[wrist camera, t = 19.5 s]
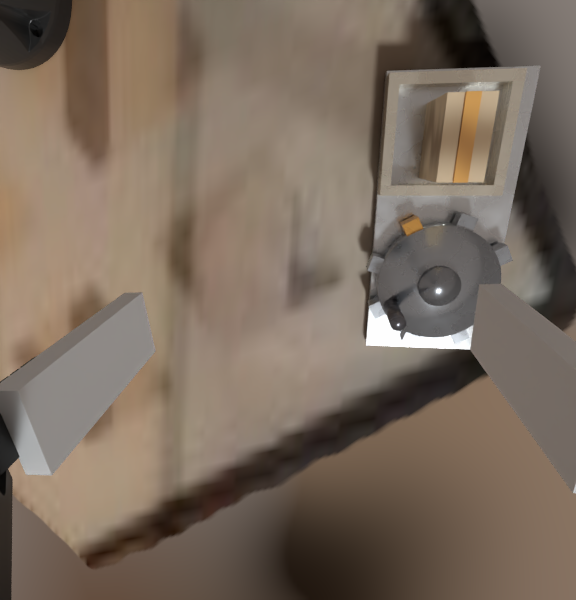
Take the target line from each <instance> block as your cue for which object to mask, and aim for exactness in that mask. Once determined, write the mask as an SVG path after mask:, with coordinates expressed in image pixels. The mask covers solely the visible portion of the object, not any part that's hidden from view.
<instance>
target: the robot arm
mask: <svg viewBox="0 0 576 600" xmlns="http://www.w3.org/2000/svg"><path fill="white" fill-rule="evenodd" d="M71 9H72V0H0V67H3V68H7V69H13V70H24V69H30V68H34V67H36V66H39V65H41V64H43V63H44V62H46V61H47V60H48V59H50V58H51V57H52V56H53V55H54V54H55V52H56V51H57V50H58V49H59V47H60V46H61V44H62V42H63V40H64V38H65V36H66V33H67V30H68V27H69V23H70V17H71ZM470 350H471V351H472V353H473V354H474V356H475V357H476V358H477V360H478V361H479V363H480V364H481V365H482V367H483V368H484V370H485V371H486V372H487V374H488V375H489V377H490V378H491V379H492V381H493V382H494V384H495V385H496V386H497V388H498V389H499V391H500V392H501V393H502V395H503V396H504V398H505V399H506V400H507V402H508V403H509V405H510V406H511V407H512V409H513V410H514V412H515V413H516V414H517V416H518V417H519V418H520V420H521V421H522V423H523V424H524V425H525V427H526V428H527V429H528V431H529V432H530V434H531V435H532V437H533V438H534V439H535V441H536V442H537V444H538V445H539V446H540V448H541V449H542V450H543V452H544V453H545V455H546V456H547V458H548V459H549V460H550V462H551V463H552V465H553V466H554V467H555V469H556V470H557V472H558V473H559V474H560V476H561V477H562V479H563V480H564V481H565V483H566V484H567V486H568V487H569V488H570V490H571V491H572V493H576V341H574V340H573V339H572V338H571V337H569V336H568V335H567V334H565V333H564V332H563V331H561V330H560V329H559V328H558V327H556V326H555V325H554V324H552V323H551V322H550V321H549V320H547V319H546V318H545V317H543V316H542V315H541V314H540V313H538V312H537V311H536V310H534V309H533V308H532V307H531V306H529V305H528V304H527V303H525V302H524V301H523V300H521V299H520V298H519V297H518V296H516V295H515V294H514V293H512V292H511V291H510V290H509V289H507V288H506V287H505V286H503V285H502V284H479V290H478V297H477V304H476V311H475V318H474V325H473V332H472V339H471V346H470ZM154 352H155V347H154V342H153V338H152V333H151V329H150V325H149V320H148V316H147V311H146V307H145V302H144V298H143V293H142V292H140V293H124V294H122V295H121V296H120V297H118V298H117V299H115V300H114V301H113V302H111V303H110V304H109V305H107V306H106V307H104V308H103V309H102V310H100V311H99V312H97V313H96V314H95V315H93V316H92V317H91V318H89V319H88V320H86V321H85V322H84V323H82V324H81V325H79V326H78V327H77V328H75V329H74V330H73V331H71V332H70V333H68V334H67V335H66V336H64V337H63V338H61V339H60V340H59V341H57V342H56V343H55V344H53V345H52V346H50V347H49V348H48V349H46V350H45V351H44V352H42V353H41V354H39V355H38V356H36V357H34V358H33V359H31V360H30V361H28V362H27V363H26V364H24V365H23V366H21V368H20V369H17V370H16V371H14V372H13V373H12V374H10V376H9V377H6V378H5V379H3V380H2V381H1V382H0V600H11V571H12V570H11V568H12V561H11V560H12V477H11V475H10V472H9V470H8V468H9V467H10V466H11V465H12V464H13V463H14V462H15V461H16V460H17V459H18V458H19V460H20V462H21V464H22V467H23V469H24V471H25V473H26V475H53V473H54V472H55V471H56V470H57V469H58V467H59V466H60V465H61V464H62V463H63V461H64V460H65V459H66V458H67V457H68V455H69V454H70V453H71V452H72V451H73V449H74V448H75V447H76V446H77V445H78V443H79V442H80V441H81V440H82V439H83V437H84V436H85V435H86V434H87V433H88V431H89V430H90V429H91V428H92V427H93V425H94V424H95V423H96V422H97V421H98V419H99V418H100V417H101V416H102V415H103V413H104V412H105V411H106V410H107V409H108V408H109V406H110V405H111V404H112V403H113V402H114V400H115V399H116V398H117V397H118V396H119V394H120V393H121V392H122V391H123V390H124V388H125V387H126V386H127V385H128V384H129V382H130V381H131V380H132V379H133V378H134V376H135V375H136V374H137V373H138V372H139V370H140V369H141V368H142V367H143V366H144V364H145V363H146V362H147V361H148V360H149V358H150V357H151V356H152V355H153V354H154Z"/></svg>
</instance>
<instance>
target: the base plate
mask: <svg viewBox="0 0 576 600" xmlns="http://www.w3.org/2000/svg"><path fill="white" fill-rule="evenodd" d="M540 67H541V66H517V67H486V68H456V69H427V70H397V71H387V72H386V74H385V87H384V100H383V114H382V127H381V141H380V154H379V168H378V181H377V194H376V208H375V221H374V235H373V248H372V252H373V253H377V254H380V255H384V253H385V252H386V250H387V249H388V248H389V246H390V245H391V244H392V243H393V242H394V241H395V240H396V239H397V238H399V237H400V236H401V235H403V234H404V232H403V229H402V227H401V225H400V222H402V221H404V220H406V219H408V218H410V217H412V216H414V215H416V216H417V217H419V219H420V222H421V224H422V225H425V224H430V223H452V221H453V219H454V217H455V215H456V213H457V211H458V212H461V213H464V214H467V215H470V216H473V217H476V218H478V221H477V223H476V226H475V228H474V230H473V232H474V233H476V234H478V235H480V236H481V237H482V238H483V239H485V240H486V241H487V242H488V243H489V244H490V245H491V246H493V245H496V244H498V243H500V242H502V243H504V241H505V236H506V232H507V227H508V222H509V217H510V212H511V207H512V202H513V198H514V193H515V188H516V183H517V178H518V173H519V169H520V164H521V159H522V154H523V149H524V144H525V139H526V135H527V130H528V125H529V120H530V115H531V110H532V105H533V101H534V96H535V91H536V86H537V81H538V76H539V72H540ZM466 91H500V92H499V98H498V104H497V109H496V115H495V121H494V127H493V133H492V138H491V144H490V150H489V156H488V161H487V167H486V173H485V179H484V182H468V183H436V182H432V181H428V180H424V179H421V178H419V170H420V161H421V152H422V143H423V134H424V125H425V116H426V107H427V103H429V102H430V101H432V100H434V99H436V98H438V97H440V96H442V95H444V94H445V93H447V92H466ZM376 274H377V273H374V272H371V275H370V288H369V300H371V299H373V298H376V297H378V294H377V290H376ZM466 330H467V333H468V335H469V338H468V339H466V340H463V341H461V342H458V343H455V344H454V343H453V341H452V340H451V338H450V336H445V337H437V338H430V337H420V339H419V341H418V343H417V345H413V344H410V343H406V342H403V341H402V340H401V338H400V333H401V331H402V330H401V331H395V330H393V329H392V328H391V326H390V323H389V320H388V317H387V315H383V316H381V317H379V318H376V319H375V318H374V316H373V314H372V312H371V310H370V308H369V306H368V315H367V329H366V345H376V346H401V347H425V348H450V349H470V346H471V339H472V332H473V325H472V326H471V327H469V328H467V329H466Z"/></svg>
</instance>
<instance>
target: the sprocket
mask: <svg viewBox="0 0 576 600" xmlns="http://www.w3.org/2000/svg"><path fill="white" fill-rule="evenodd" d="M477 221H478V218H476V217H473V216H470V215H467V214H464V213H461V212H458V211H457V213H456V215H455V217H454V219H453V221H452V223H430V224H425V225H422V224H421V222H420V219H419V217H417V216H416V215H414V216H412V217H410V218H408V219H406V220H404V221H402V222H400V225H401V227H402V229H403V232H404V234H403V235H401V236H400V237H399V238H397V239H396V240H395V241H394V242H393V243H392V244H391V245H390V246H389V248H388V249H387V250H386V252H385V253H384V255H380V254H377V253H373V252H372V253H371V256H370V258H369V261H368V263H367V266H366V267H367V270H368V271H370V272H374V273H377V274H376V290H377V294H378V297H376V298H373V299H371V300H369V301H367V302H368V306H369V308H370V310H371V312H372V314H373V316H374V318H375V319H376V318H379V317H381V316H383V315H387V317H388V320H389V323H390V326H391V328H392V329H393V330H395V331H401V330H402V331H401V333H400V338H401V340H402V341H403V342H406V343H410V344H413V345H417V343H418V341H419V339H420V337H430V338H437V337H445V336H450V338H451V340H452V341H453V343H454V344H455V343H458V342H461V341H463V340H466V339H468V338H469V335H468V333H467V330H466V329H467V328H469V327H471V326H472V325H474V318H475V311H476V304H477V297H478V290H479V284H501V268H500V266H501V265H503V264H505V263H508V262H510V261H513V260H512V257H511V254H510V251H509V249H508V246H507V245H505V244H504V243H502V242H500V243H498V244H496V245H493V246H491V245H490V244H489V243H488V242H487V241H486V240H485V239H483V238H482V237H481V236H480V235H478V234H476V233H474V232H473V230H474V228H475V226H476V223H477Z"/></svg>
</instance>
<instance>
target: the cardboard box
mask: <svg viewBox="0 0 576 600" xmlns="http://www.w3.org/2000/svg"><path fill="white" fill-rule="evenodd" d="M499 92H500V91H466V92H447V93H445V94H444V95H442V96H440V97H438V98H436V99H434V100H432V101H430V102H429V103H427V107H426V116H425V125H424V134H423V143H422V152H421V161H420V170H419V178H421V179H424V180H428V181H432V182H436V183H468V182H484V179H485V173H486V167H487V161H488V156H489V150H490V144H491V138H492V133H493V127H494V121H495V115H496V109H497V104H498V98H499Z"/></svg>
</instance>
